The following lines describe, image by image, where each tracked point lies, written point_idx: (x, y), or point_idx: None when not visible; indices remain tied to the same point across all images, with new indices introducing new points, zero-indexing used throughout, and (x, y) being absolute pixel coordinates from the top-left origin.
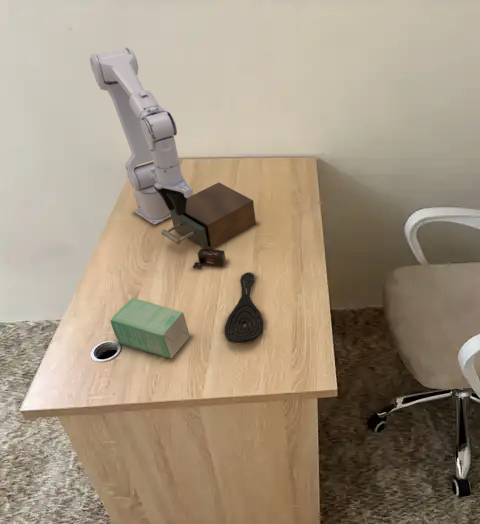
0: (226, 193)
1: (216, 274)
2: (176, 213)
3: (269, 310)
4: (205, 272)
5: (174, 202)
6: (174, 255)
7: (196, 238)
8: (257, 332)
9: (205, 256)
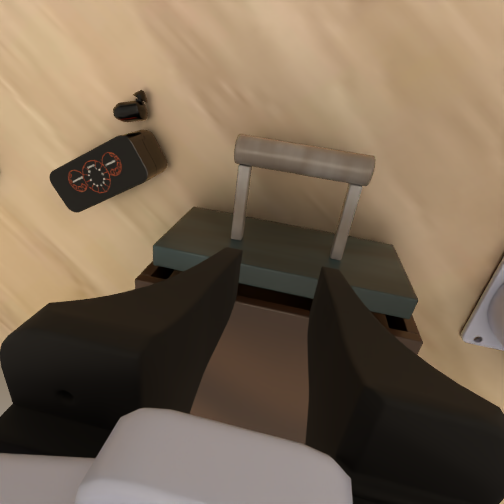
0: None
1: (65, 120)
2: (237, 252)
3: None
4: (100, 105)
5: (124, 292)
6: (280, 118)
7: (228, 225)
8: None
9: (97, 147)
